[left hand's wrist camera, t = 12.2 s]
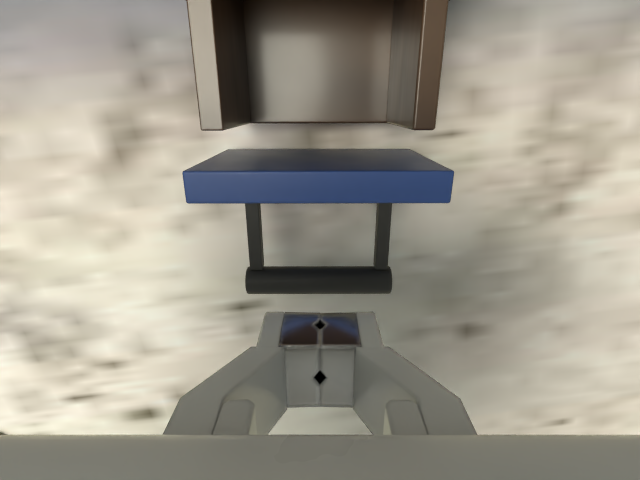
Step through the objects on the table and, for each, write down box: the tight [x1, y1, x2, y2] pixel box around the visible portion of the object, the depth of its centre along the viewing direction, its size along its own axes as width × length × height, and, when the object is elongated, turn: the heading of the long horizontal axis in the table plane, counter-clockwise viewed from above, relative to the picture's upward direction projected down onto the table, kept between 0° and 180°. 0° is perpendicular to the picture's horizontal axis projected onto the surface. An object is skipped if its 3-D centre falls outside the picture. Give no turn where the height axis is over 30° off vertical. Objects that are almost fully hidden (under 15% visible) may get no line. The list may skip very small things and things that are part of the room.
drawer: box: [183, 0, 454, 294], centre depth 15 cm, size 21×10×7 cm, turn 0°
